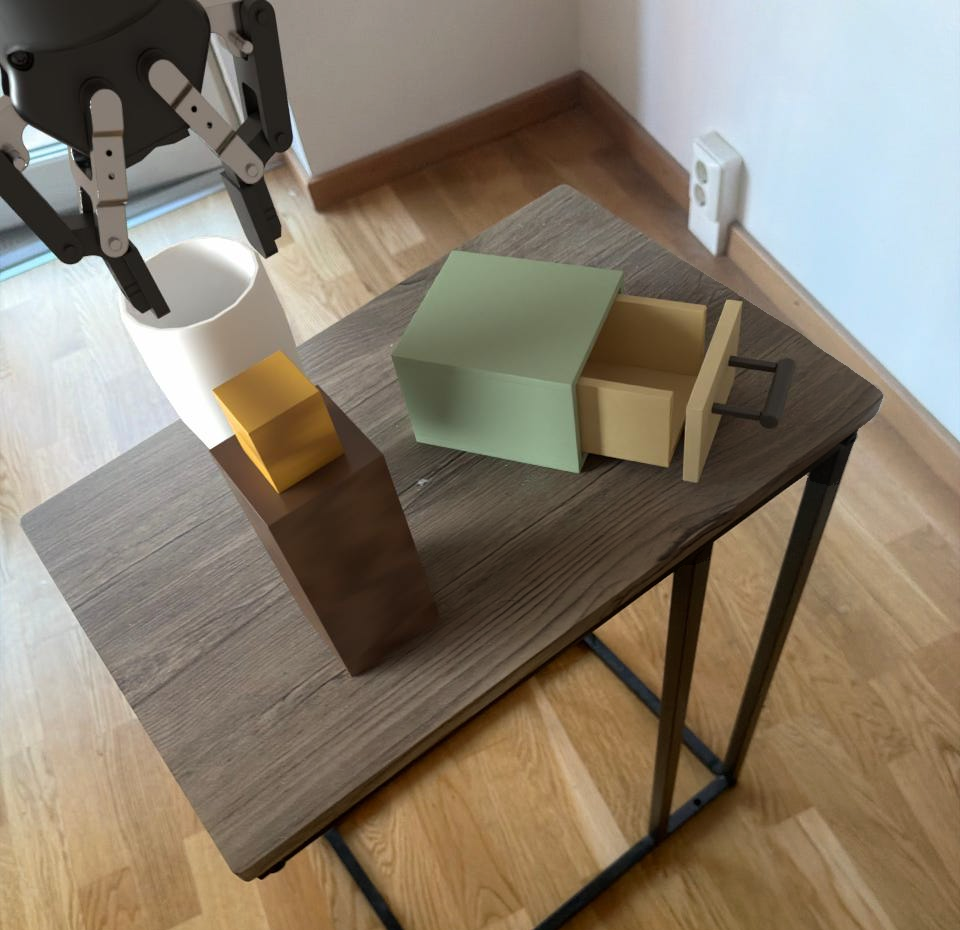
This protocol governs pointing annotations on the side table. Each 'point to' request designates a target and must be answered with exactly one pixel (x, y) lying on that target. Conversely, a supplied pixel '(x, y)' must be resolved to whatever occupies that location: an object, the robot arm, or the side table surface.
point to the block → (279, 420)
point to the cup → (208, 326)
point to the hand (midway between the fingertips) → (211, 276)
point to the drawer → (667, 382)
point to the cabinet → (504, 356)
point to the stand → (340, 545)
